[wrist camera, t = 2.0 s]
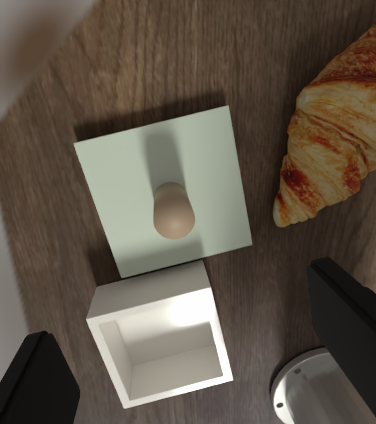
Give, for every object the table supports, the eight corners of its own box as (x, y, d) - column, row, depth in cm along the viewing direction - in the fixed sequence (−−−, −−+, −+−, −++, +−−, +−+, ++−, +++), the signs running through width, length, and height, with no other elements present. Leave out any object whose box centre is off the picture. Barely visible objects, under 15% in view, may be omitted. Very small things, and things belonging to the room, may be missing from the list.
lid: (225, 105, 25) (247, 104, 19) (249, 240, 30) (273, 274, 24) (76, 142, 25) (50, 152, 19) (122, 273, 29) (113, 315, 23)
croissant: (281, 218, 34) (343, 262, 28) (223, 198, 27) (287, 249, 22) (404, 29, 28) (512, 35, 22) (367, -53, 22) (506, -75, 16)
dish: (202, 259, 30) (210, 287, 26) (222, 342, 34) (233, 379, 29) (97, 286, 30) (86, 319, 25) (128, 367, 34) (124, 408, 29)
